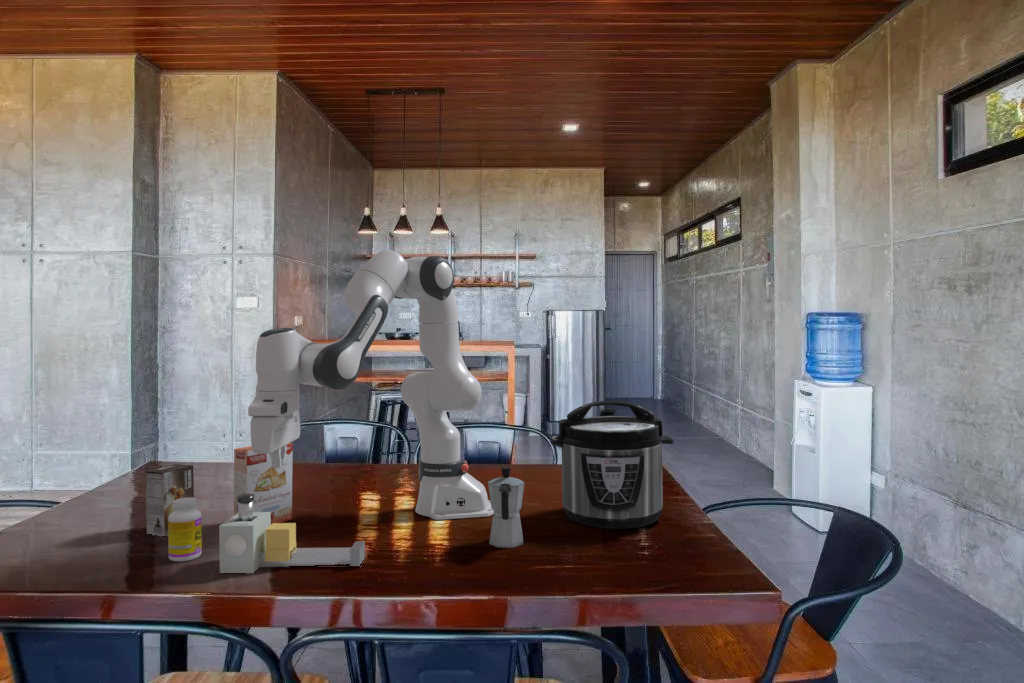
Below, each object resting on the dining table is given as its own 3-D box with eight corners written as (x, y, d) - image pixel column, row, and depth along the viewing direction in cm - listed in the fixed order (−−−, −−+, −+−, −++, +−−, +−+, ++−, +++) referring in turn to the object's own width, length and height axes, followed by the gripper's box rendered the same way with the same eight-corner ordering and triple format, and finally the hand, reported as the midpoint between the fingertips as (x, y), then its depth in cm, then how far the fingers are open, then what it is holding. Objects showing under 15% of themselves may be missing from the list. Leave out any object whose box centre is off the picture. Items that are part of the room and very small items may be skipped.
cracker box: (247, 534, 156) (246, 450, 155) (232, 530, 159) (232, 448, 158) (294, 519, 167) (293, 442, 167) (279, 516, 171) (278, 440, 170)
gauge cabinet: (270, 556, 140) (270, 511, 140) (252, 574, 130) (252, 526, 130) (239, 556, 140) (239, 512, 140) (218, 574, 130) (218, 526, 129)
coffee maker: (489, 533, 156) (489, 461, 156) (524, 533, 156) (524, 461, 156) (485, 554, 141) (485, 475, 141) (524, 554, 141) (524, 475, 141)
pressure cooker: (535, 520, 167) (535, 402, 167) (587, 497, 190) (587, 393, 189) (639, 542, 149) (639, 410, 149) (682, 514, 172) (683, 399, 172)
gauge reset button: (256, 525, 137) (256, 493, 137) (250, 530, 133) (250, 497, 133) (241, 525, 137) (241, 493, 137) (234, 530, 133) (234, 497, 133)
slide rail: (364, 559, 138) (364, 541, 138) (359, 567, 133) (359, 549, 133) (264, 560, 138) (264, 542, 138) (255, 568, 133) (255, 550, 133)
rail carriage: (296, 552, 138) (296, 522, 138) (288, 561, 133) (288, 529, 133) (273, 552, 138) (273, 522, 138) (265, 561, 133) (264, 530, 133)
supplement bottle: (198, 560, 138) (198, 502, 137) (165, 564, 136) (164, 505, 136) (204, 550, 144) (204, 495, 144) (172, 553, 142) (171, 497, 142)
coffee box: (176, 524, 164) (176, 463, 164) (195, 526, 162) (194, 464, 161) (145, 534, 155) (144, 470, 155) (164, 537, 153) (163, 472, 153)
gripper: (279, 398, 145) (280, 457, 145) (244, 408, 125) (244, 477, 125) (307, 398, 145) (307, 457, 145) (276, 408, 125) (276, 477, 125)
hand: (278, 466), depth 135 cm, fingers closed
